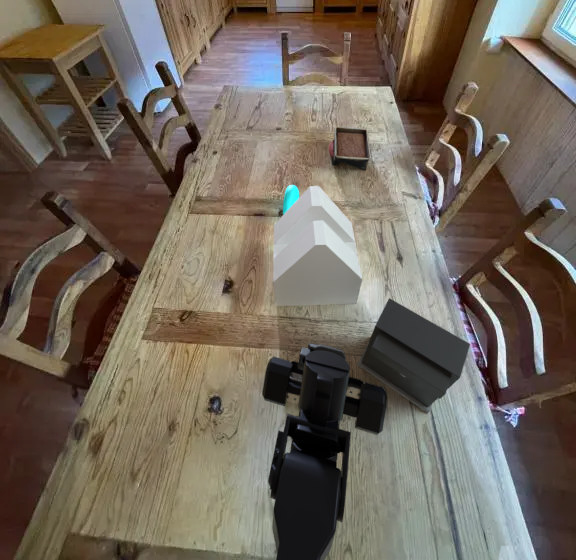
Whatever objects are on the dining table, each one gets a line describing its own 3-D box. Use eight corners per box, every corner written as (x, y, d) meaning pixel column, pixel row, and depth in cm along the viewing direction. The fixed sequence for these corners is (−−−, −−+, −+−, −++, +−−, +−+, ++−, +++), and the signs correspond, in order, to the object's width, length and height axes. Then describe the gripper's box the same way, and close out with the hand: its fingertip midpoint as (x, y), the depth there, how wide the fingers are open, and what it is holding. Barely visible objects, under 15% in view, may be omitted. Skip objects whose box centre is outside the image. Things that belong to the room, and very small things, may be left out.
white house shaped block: (275, 306, 81) (269, 246, 64) (276, 251, 92) (270, 187, 75) (356, 303, 81) (371, 243, 64) (346, 249, 92) (357, 184, 75)
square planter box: (369, 150, 125) (371, 125, 119) (370, 177, 111) (372, 151, 105) (330, 148, 128) (330, 124, 122) (326, 176, 113) (326, 150, 108)
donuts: (289, 200, 106) (288, 177, 99) (321, 204, 104) (323, 181, 97) (282, 225, 99) (281, 202, 92) (316, 230, 97) (318, 207, 90)
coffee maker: (423, 426, 64) (457, 399, 50) (351, 376, 70) (364, 339, 56) (439, 379, 70) (474, 343, 56) (371, 336, 76) (387, 294, 62)
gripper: (398, 386, 44) (388, 335, 59) (262, 348, 48) (284, 309, 63) (384, 471, 44) (377, 398, 59) (248, 427, 48) (274, 369, 63)
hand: (327, 366), depth 61 cm, fingers closed on cork, 5 cm apart
